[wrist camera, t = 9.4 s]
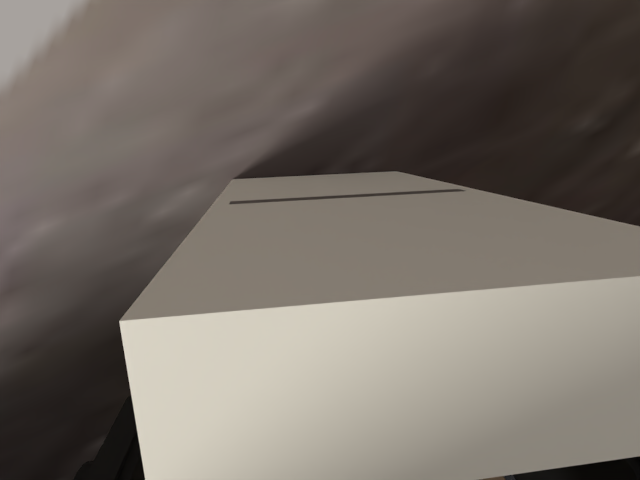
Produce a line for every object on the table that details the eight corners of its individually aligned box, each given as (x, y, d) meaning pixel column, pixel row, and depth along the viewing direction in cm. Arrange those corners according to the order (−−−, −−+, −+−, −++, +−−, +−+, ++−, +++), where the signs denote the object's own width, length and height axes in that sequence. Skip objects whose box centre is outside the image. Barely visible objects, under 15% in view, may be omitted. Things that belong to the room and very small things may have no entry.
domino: (396, 222, 13) (753, 441, 4) (237, 232, 13) (152, 526, 3) (396, 170, 13) (797, 262, 3) (232, 179, 12) (117, 319, 3)
